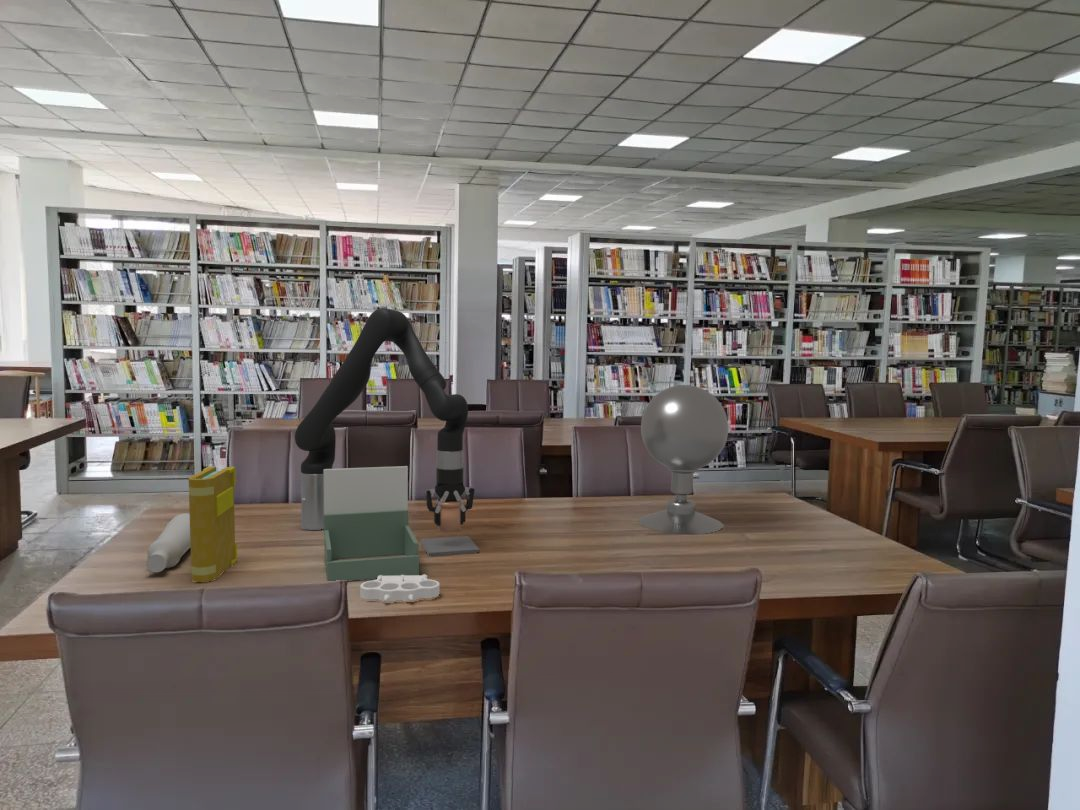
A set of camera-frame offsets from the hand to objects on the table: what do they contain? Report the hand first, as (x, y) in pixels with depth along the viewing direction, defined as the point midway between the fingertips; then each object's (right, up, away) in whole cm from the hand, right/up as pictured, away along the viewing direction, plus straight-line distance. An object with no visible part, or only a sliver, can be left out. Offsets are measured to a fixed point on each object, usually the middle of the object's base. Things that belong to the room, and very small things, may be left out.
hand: (449, 524), depth 211 cm
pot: (0, -1, 0) cm, 1 cm away
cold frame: (-18, -8, -18) cm, 27 cm away
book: (-56, -8, -24) cm, 62 cm away
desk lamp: (+71, -5, +33) cm, 79 cm away
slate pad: (0, -7, +1) cm, 7 cm away
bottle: (-71, -7, -14) cm, 73 cm away
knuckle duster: (-7, -11, -37) cm, 39 cm away
